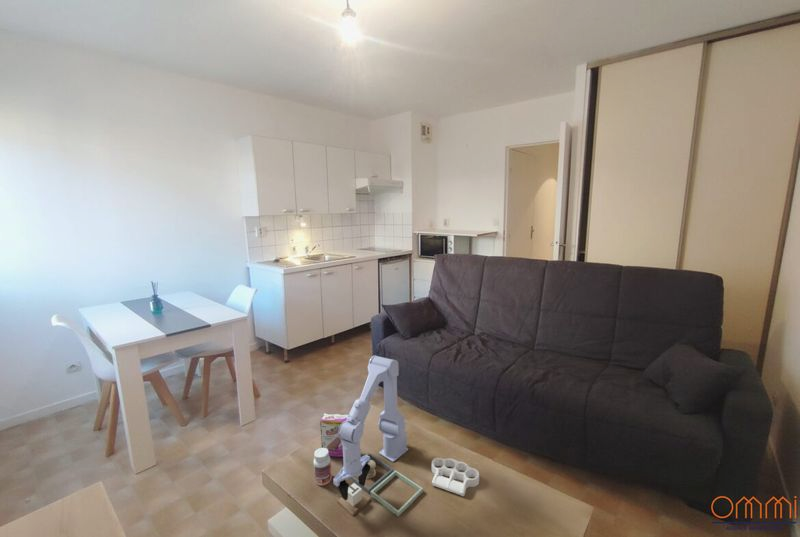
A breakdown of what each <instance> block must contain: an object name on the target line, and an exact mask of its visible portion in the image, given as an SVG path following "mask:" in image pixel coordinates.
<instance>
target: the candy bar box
mask: <svg viewBox="0 0 800 537" xmlns="http://www.w3.org/2000/svg"><path fill="white" fill-rule="evenodd" d="M348 415H349V414H341V413H340V414H339V413H322V417H321V418H320V421H319V422H320V440H321V448H326V449H328V452H329V456H330V458H331V457H332V458H333V457H335V458H343V445H342V443H341V439H340V438H339V437H338V432H339V427H340V425H341V424H342V422H344V421H346V420H347V417H348Z"/></svg>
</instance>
